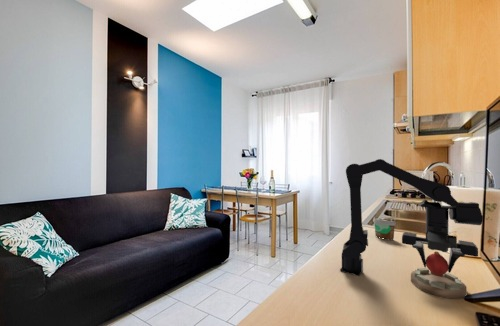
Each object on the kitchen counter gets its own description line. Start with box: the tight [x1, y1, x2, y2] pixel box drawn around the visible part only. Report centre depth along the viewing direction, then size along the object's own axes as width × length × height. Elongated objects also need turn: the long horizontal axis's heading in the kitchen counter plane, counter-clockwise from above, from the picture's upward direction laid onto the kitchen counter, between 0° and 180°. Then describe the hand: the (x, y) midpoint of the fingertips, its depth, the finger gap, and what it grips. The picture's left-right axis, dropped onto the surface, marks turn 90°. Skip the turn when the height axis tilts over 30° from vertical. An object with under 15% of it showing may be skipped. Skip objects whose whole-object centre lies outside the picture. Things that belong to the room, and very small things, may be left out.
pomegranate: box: [425, 250, 449, 276], centre depth 75 cm, size 6×6×8 cm
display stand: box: [410, 267, 468, 300], centre depth 75 cm, size 14×14×3 cm
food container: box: [372, 216, 397, 240], centre depth 125 cm, size 12×6×10 cm, turn 17°
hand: (436, 269), depth 75 cm, fingers closed on pomegranate, 6 cm apart
